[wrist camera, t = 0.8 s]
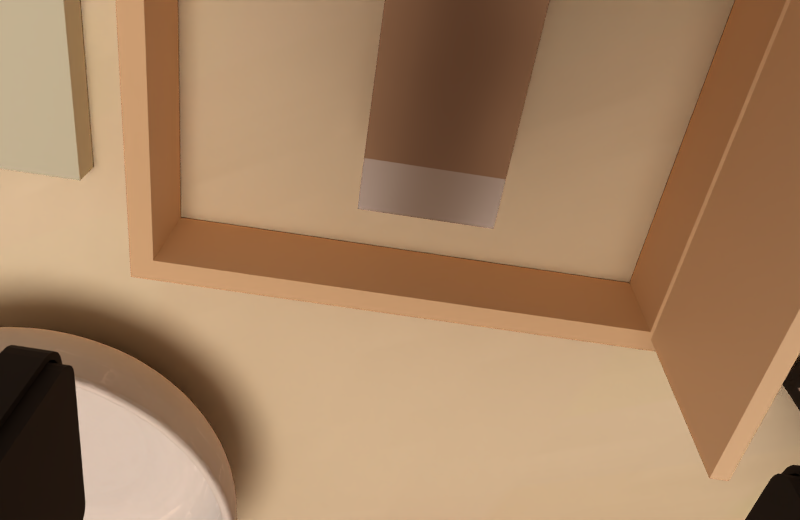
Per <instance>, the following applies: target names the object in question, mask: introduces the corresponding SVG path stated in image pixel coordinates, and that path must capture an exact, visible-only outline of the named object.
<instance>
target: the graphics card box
mask: <svg viewBox="0 0 800 520" xmlns="http://www.w3.org/2000/svg"><path fill="white" fill-rule="evenodd" d="M783 386H784V387H785V389H786V390H787V392H788V393H789V395H790V396H791V398H792V399H793V401H794V403H795V404H796V406H797V407H798V409H799V410H800V361H799V362H798V363H797V364H796V366H795V367H794V368H793V369H792V370H791V372H790V373H789V374H788V375H787V377H786V379H785V380H784V382H783Z"/></svg>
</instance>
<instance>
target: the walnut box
mask: <svg viewBox="0 0 800 520" xmlns="http://www.w3.org/2000/svg"><path fill="white" fill-rule="evenodd" d="M549 1H550V0H385V4H384V11H383V19H382V27H381V34H380V42H379V49H378V57H377V65H376V72H375V80H374V88H373V95H372V103H371V111H370V118H369V126H368V133H367V141H366V149H365V156H364V164H363V172H362V179H361V187H360V194H359V202H358V209H363V210H370V211H376V212H383V213H390V214H397V215H403V216H410V217H417V218H424V219H430V220H437V221H444V222H451V223H457V224H464V225H471V226H478V227H484V228H491V229H494V225H495V221H496V217H497V213H498V209H499V205H500V200H501V196H502V192H503V188H504V184H505V180H506V176H507V172H508V168H509V164H510V160H511V156H512V151H513V147H514V143H515V139H516V135H517V131H518V127H519V123H520V119H521V115H522V111H523V107H524V103H525V98H526V94H527V90H528V86H529V82H530V78H531V74H532V70H533V66H534V62H535V58H536V54H537V49H538V45H539V41H540V37H541V33H542V29H543V25H544V21H545V17H546V13H547V9H548V5H549Z"/></svg>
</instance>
